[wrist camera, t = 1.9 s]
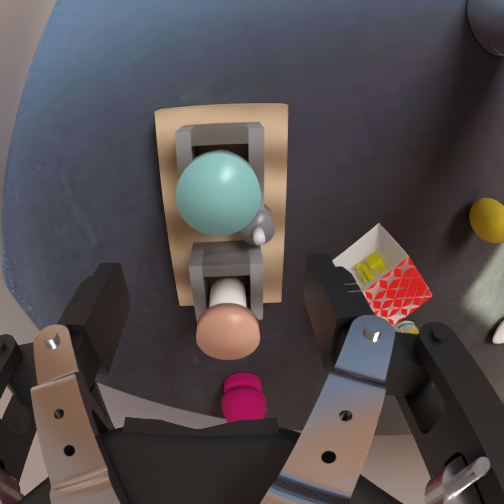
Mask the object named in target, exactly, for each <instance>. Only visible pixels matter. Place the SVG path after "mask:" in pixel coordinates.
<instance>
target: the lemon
mask: <svg viewBox="0 0 504 504" xmlns="http://www.w3.org/2000/svg"><path fill="white" fill-rule="evenodd" d="M469 218H470V223H471V226H472V228H473V230H474V231H475V233H476V234H477V235H478V236H479V237H481V238H482V239H484V240H485V241H488V242H491V243H499V242H502V241H503V240H504V206H503V205H502V204H500V203H499V202H497V201H496V200H494V199H491V198H481V199H479V200H477V201H476V202H475V203H474V204H473V205H472V207H471V210H470V215H469Z"/></svg>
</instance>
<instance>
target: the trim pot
mask: <svg viewBox="0 0 504 504" xmlns="http://www.w3.org/2000/svg"><path fill="white" fill-rule="evenodd" d="M240 233H241V236H242V238H243V239H244V240H245V241H246V242H247V243H249V244H251V245H263V244H265V243H267V242H269V241H270V240H271V239H272V238H273V236H274V234H275V224H274V221H273V218H272V214H271V211H270V209H269V208H268V207H267V206H266V205H265V204H264V210H258V212H257V214H256V215H255V217H254V218H253V220H252V221H251V222H250V223H249V224H248V225H247V226H246V227H245V228H243V229H241V230H240Z"/></svg>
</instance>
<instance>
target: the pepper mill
mask: <svg viewBox="0 0 504 504" xmlns="http://www.w3.org/2000/svg"><path fill="white" fill-rule="evenodd" d="M261 392H262V384H261V380H260V378H259V377H258V376H256V375H254V374H251V373H244V372H242V373H236V374H233V375H230V376H229V377H227V378H226V380H225V381H224V393H225V395H224V396H223V397H222V400H221V408H222V412H223V414H224V416H225V418H226V420H227V422H228V423H229V422H233V421H237V420H253V419H263V418H264V415H265V412H266V407H267V406H266V398H265V396H264V395H263V394H262V393H261Z"/></svg>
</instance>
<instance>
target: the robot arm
mask: <svg viewBox="0 0 504 504" xmlns="http://www.w3.org/2000/svg"><path fill="white" fill-rule="evenodd" d="M467 17H468V21H469V24H470V27H471V30H472V32H473V34H474V36H475V37H476V39H477V40H478V42H479V43H480V44H481V46H482V47H483V48H484V49H485V50H486V51H488V52H489V53H491V54H493V55H496V56H504V0H468V3H467ZM304 299H305V305H306V308H307V312H308V315H309V318H310V321H311V324H312V328H313V331H314V334H315V338H316V341H317V344H318V347H319V351H320V354H321V358H322V361H323V364H324V368H325V370H330V369H332V370H331V372H330V374H329V376H328V378H327V381H326V383H325V385H324V387H323V389H322V392H321V394H320V396H319V398H318V400H317V403H316V405H315V407H314V409H313V411H312V413H311V415H310V417H309V419H308V421H307V423H306V425H305V427H304V429H303V431H302V433H299V432H296V431H293V430H289V429H284V428H278V424H277V418H267V419H253V420H237V421H233V422H229V423H225V424H221V425H217V426H213V427H208V428H204V429H193V428H188V427H184V426H181V425H177V424H173V423H170V422H166V421H163V420H155V419H140V418H130V417H126V418H125V422H124V427H122V428H118V429H115V428H114V426H113V424H112V421H111V419H110V417H109V414H108V412H107V409H106V406H105V404H104V401H103V399H102V396H101V393H100V391H99V388H98V385H97V383H96V381H95V378H96V375H97V374H108V373H109V370H110V367H111V364H112V361H113V357H114V354H115V351H116V348H117V345H118V342H119V339H120V336H121V333H122V330H123V328H124V325H125V322H126V319H127V316H128V313H129V310H130V296H129V293H128V289H127V285H126V282H125V278H124V274H123V271H122V267H121V265H120V264H119V263H101V264H100V265H99V266H98V268H97V269H96V271H95V273H94V274H93V276H89V277H88V278H87V279H86V280H84V281H83V282H82V283H81V284H80V285H79V287H78V289H77V290H76V292H75V295H73V297H72V299H71V302H69V304H68V306H67V307H66V309H65V311H64V313H63V314H62V316H61V318H60V320H59V322H58V323H57V325H51V326H48V327H46V328H44V329H43V330H41V331H40V332H39V333H38V334H37V336H36V337H35V339H34V342H33V343H28V344H23V345H18V344H17V343H16V341H15V339H14V337H12V336H11V335H8V334H4V335H0V398H1V396H2V394H3V392H4V390H5V388H6V386H7V387H8V388H9V390H10V391H11V392H12V393H13V395H12V398H11V400H10V402H9V404H8V406H7V408H6V410H5V413H4V415H3V417H2V420H1V419H0V504H403V503H401V502H399V501H398V500H396V499H395V498H394V497H392V496H391V495H389V494H388V493H386V492H385V491H383V490H382V489H380V488H379V487H377V486H376V485H375V484H373V483H372V482H370V481H369V480H368V479H366V478H365V477H363V476H362V475H361V474H360V472H361V470H362V467H363V464H364V461H365V459H366V456H367V453H368V450H369V447H370V444H371V441H372V437H373V435H374V431H375V428H376V425H377V422H378V418H379V415H380V411H381V408H382V404H383V400H384V396H385V395H395V397H396V399H397V401H398V403H399V405H400V408H401V410H402V412H403V414H404V416H405V419H406V421H407V423H408V425H409V427H410V430H411V432H412V434H413V437H414V439H415V441H416V443H417V446H418V448H419V450H420V453H421V455H422V458H423V460H424V462H425V465H426V467H427V470H428V472H429V475H430V477H431V479H430V480H429V482H428V484H427V486H426V488H425V504H504V405H503V403H502V402H501V400H500V398H499V397H498V395H497V394H496V392H495V390H494V389H493V387H492V386H491V384H490V383H489V381H488V380H487V378H486V377H485V375H484V373H483V372H482V370H481V369H480V368H479V366H478V365H477V363H476V362H475V360H474V359H473V357H472V356H471V354H470V353H469V352H468V350H467V349H466V347H465V346H464V345H463V343H462V342H461V340H460V339H459V338H458V336H457V335H456V334H455V332H454V331H453V330H452V329H451V328H449V327H448V326H446V325H444V324H442V323H437V322H430V323H426V324H424V325H423V326H422V327H421V329H420V331H419V333H418V334H412V333H402V332H396V331H395V330H394V328H393V326H392V325H391V324H390V323H389V322H388V321H387V320H385V319H383V318H381V317H378V316H375V314H374V313H373V311H372V309H371V307H370V305H369V303H368V302H367V300H366V298H365V296H364V294H363V292H362V291H361V289H360V287H359V285H358V284H357V282H356V280H355V278H354V277H353V275H352V273H350V272H349V271H348V270H346V269H345V268H344V267H343V266H338V267H335V265H334V263H333V261H332V259H331V258H330V256H329V254H315V255H308V257H307V265H306V276H305V286H304ZM438 391H439V392H438ZM36 430H37V432H38V437H39V441H40V445H41V450H42V454H43V458H44V462H45V466H46V469H47V473H48V476H49V477H48V478H47V479H45V480H44V481H43V482H42V483H40V484H39V485H38V486H37V487H35V488H34V489H33V490H32V491H31V492H29V493H28V494H27V495H26V496H24V495H23V494H22V493H21V492H20V486H19V481H20V478H21V475H22V471H23V468H24V465H25V462H26V459H27V456H28V452H29V450H30V447H31V444H32V441H33V439H34V436H35V433H36Z"/></svg>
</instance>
